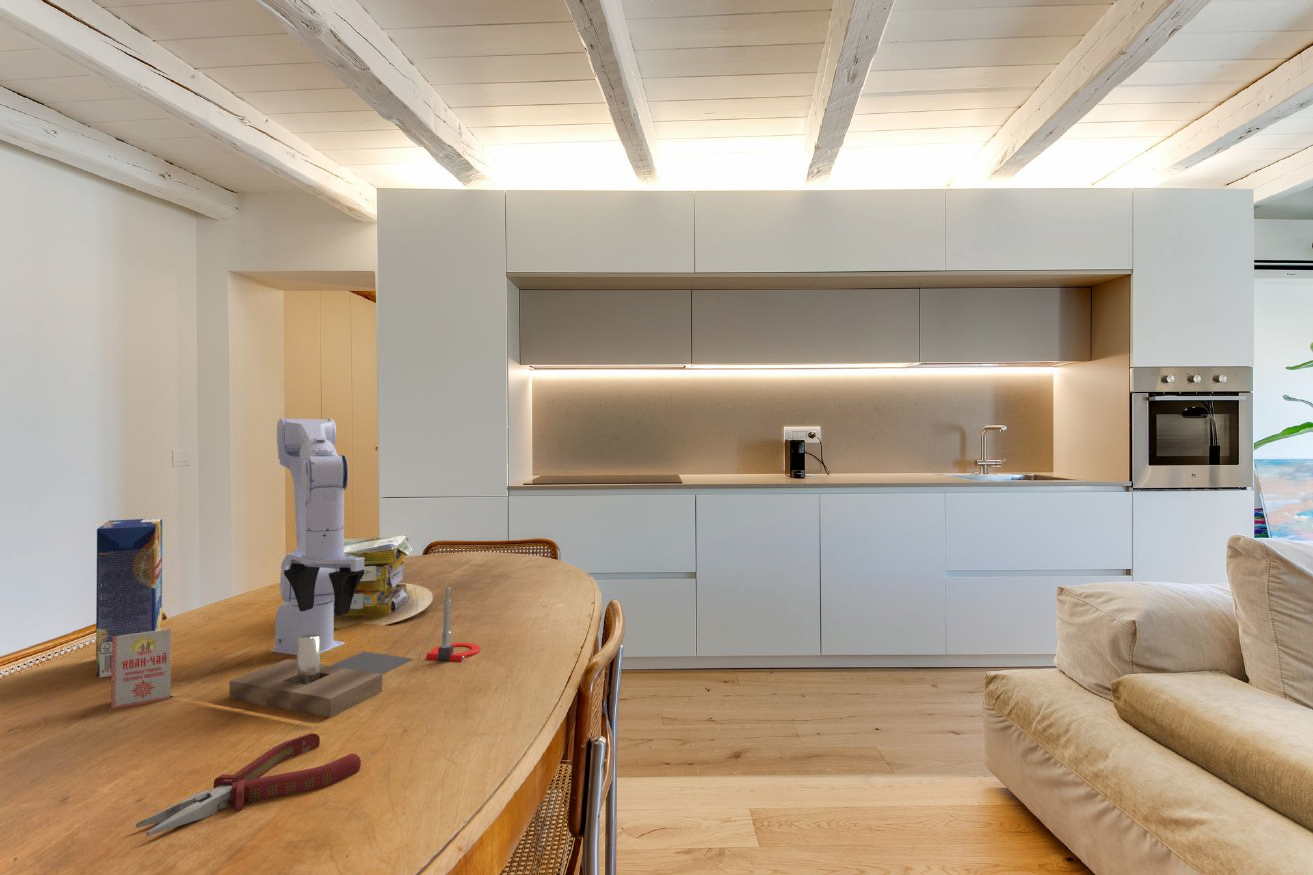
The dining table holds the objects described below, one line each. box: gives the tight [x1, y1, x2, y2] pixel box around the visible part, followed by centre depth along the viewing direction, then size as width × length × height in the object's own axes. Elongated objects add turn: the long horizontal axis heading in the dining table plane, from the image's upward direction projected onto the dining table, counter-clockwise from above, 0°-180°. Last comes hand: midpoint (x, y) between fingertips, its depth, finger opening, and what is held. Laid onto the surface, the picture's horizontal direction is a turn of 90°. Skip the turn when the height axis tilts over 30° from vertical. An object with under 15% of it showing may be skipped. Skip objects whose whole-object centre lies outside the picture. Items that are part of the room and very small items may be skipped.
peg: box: [296, 634, 321, 685], centre depth 99 cm, size 3×3×9 cm
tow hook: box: [425, 587, 481, 663], centre depth 119 cm, size 8×13×9 cm
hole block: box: [228, 659, 383, 719], centre depth 99 cm, size 19×10×3 cm, turn 71°
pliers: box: [135, 732, 362, 837], centre depth 73 cm, size 12×20×3 cm, turn 145°
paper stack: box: [334, 535, 434, 629], centre depth 146 cm, size 25×25×17 cm
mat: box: [329, 651, 414, 675], centre depth 111 cm, size 11×11×1 cm
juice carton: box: [95, 517, 163, 679], centre depth 113 cm, size 12×8×24 cm, turn 32°
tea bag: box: [110, 628, 172, 710], centre depth 97 cm, size 4×7×10 cm, turn 126°
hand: (324, 611), depth 108 cm, fingers open, 7 cm apart
